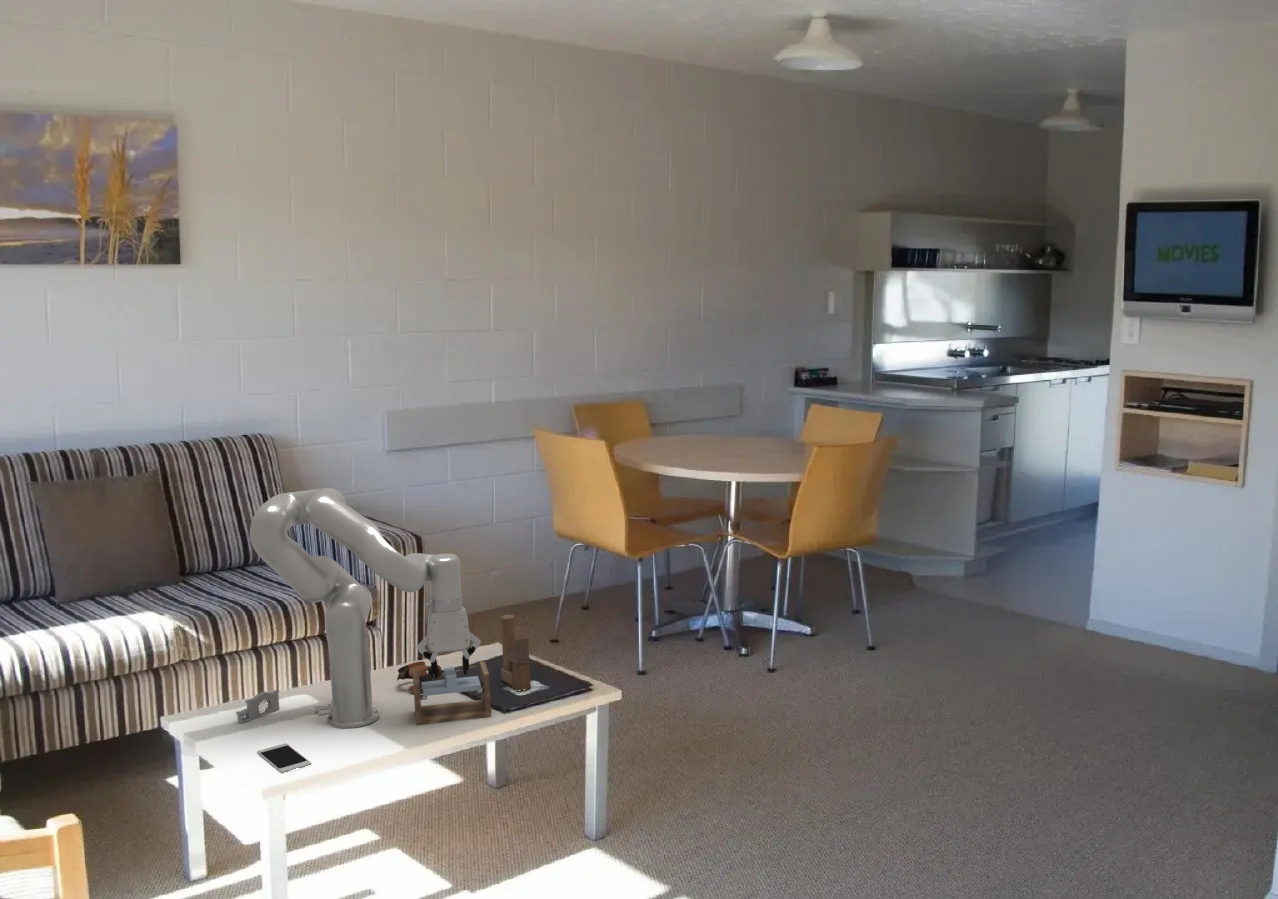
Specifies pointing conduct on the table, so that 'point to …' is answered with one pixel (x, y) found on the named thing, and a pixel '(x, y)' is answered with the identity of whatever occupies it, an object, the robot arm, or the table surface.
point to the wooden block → (514, 656)
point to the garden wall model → (254, 706)
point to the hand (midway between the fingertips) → (450, 674)
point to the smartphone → (284, 758)
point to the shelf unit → (453, 709)
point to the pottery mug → (407, 673)
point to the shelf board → (450, 684)
